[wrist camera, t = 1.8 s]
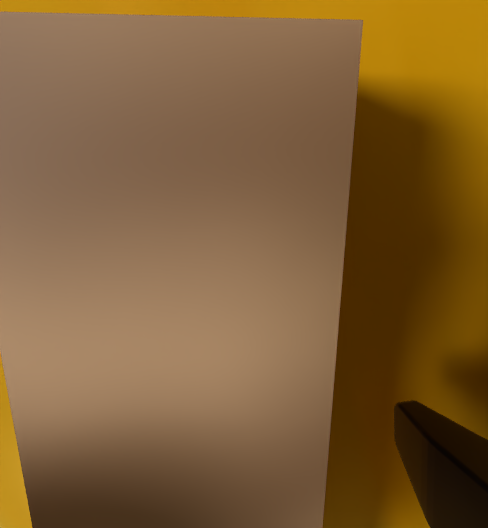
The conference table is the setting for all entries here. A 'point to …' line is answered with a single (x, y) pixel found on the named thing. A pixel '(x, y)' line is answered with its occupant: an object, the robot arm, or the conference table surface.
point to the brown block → (173, 263)
